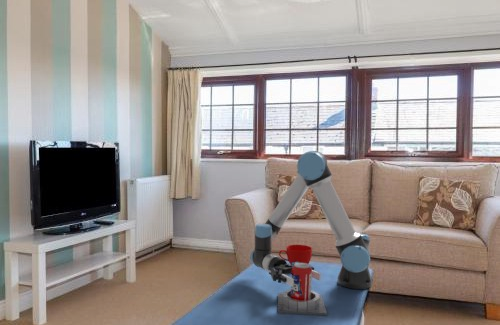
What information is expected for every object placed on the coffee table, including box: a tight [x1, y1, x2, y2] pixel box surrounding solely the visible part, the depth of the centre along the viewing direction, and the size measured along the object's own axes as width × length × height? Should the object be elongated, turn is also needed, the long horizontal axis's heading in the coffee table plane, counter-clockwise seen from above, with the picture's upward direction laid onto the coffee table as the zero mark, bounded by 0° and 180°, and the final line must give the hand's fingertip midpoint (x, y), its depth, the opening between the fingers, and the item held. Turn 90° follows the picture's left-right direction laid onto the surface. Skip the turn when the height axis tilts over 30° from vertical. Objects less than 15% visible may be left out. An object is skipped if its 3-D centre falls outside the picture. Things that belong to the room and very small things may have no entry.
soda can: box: [290, 263, 313, 300], centre depth 164 cm, size 8×8×15 cm
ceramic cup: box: [278, 244, 313, 265], centre depth 214 cm, size 13×17×10 cm
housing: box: [277, 288, 328, 316], centre depth 165 cm, size 18×18×4 cm
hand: (306, 279), depth 162 cm, fingers open, 13 cm apart
